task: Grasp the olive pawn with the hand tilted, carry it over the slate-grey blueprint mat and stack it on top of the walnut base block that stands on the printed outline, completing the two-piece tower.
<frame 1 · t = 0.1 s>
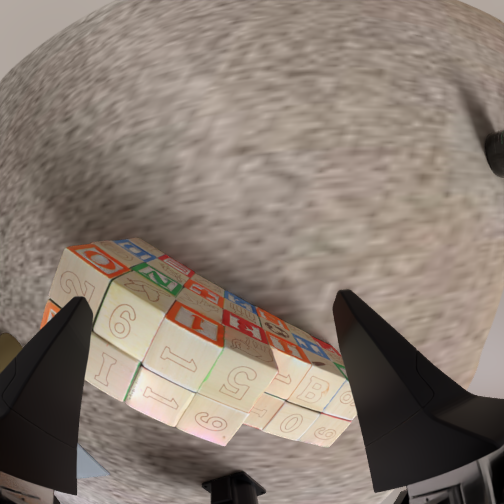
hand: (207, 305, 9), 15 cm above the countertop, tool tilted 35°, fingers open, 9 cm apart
blueprint mat: (39, 437, 23), on the countertop
stack of blocks: (223, 324, 25), on the countertop
olive pawn: (13, 354, 23), on the countertop
supplement bottle: (494, 156, 26), on the countertop
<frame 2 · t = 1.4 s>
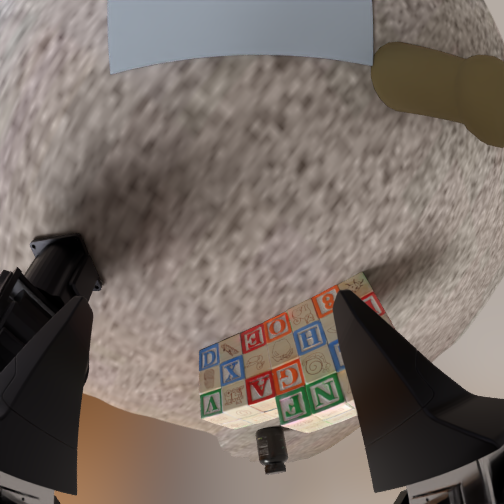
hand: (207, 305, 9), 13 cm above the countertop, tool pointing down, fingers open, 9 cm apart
stack of blocks: (286, 327, 31), on the countertop
olive pawn: (401, 76, 16), on the countertop
supplement bottle: (269, 429, 58), on the countertop
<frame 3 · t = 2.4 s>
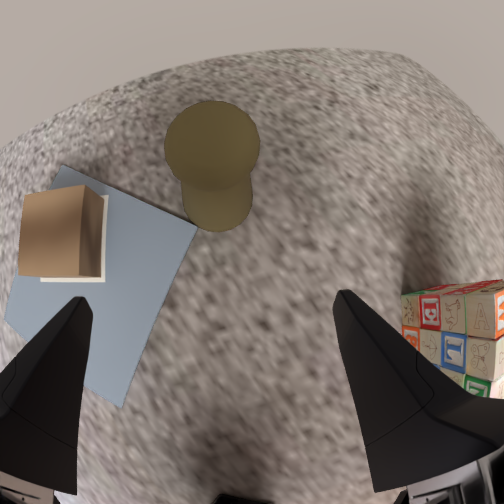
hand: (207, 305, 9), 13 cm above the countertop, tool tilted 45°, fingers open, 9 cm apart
blueprint mat: (79, 281, 21), on the countertop
stack of blocks: (421, 383, 23), on the countertop
olive pawn: (217, 198, 23), on the countertop
walnut block: (70, 239, 21), resting on blueprint mat
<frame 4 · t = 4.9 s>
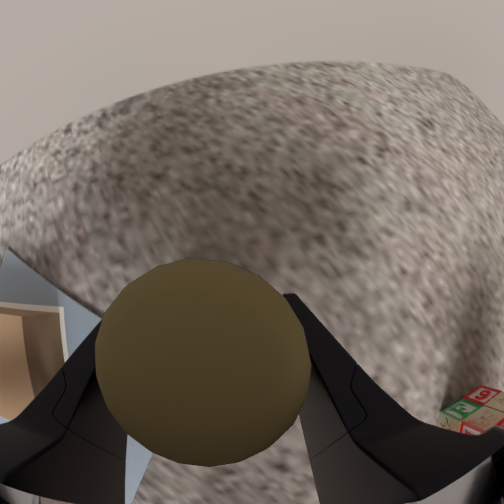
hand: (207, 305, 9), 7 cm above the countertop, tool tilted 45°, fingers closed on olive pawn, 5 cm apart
blueprint mat: (50, 407, 13), on the countertop
stack of blocks: (442, 477, 15), on the countertop
olive pawn: (217, 321, 16), on the countertop, touching gripper
walnut block: (29, 358, 13), resting on blueprint mat
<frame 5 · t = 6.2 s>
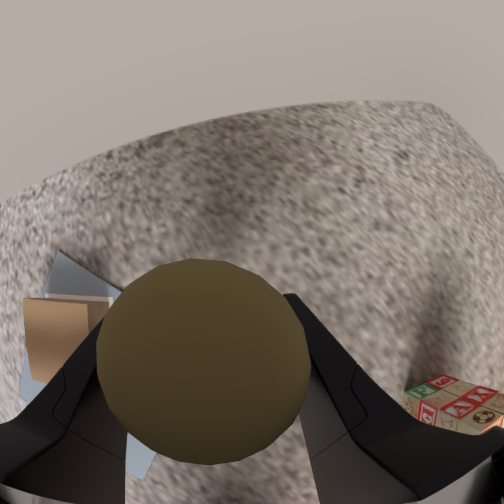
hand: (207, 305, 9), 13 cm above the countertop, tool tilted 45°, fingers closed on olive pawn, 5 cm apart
blueprint mat: (92, 378, 20), on the countertop
stack of blocks: (412, 454, 22), on the countertop
olive pawn: (218, 318, 16), point 6 cm above the countertop, touching gripper
walnut block: (78, 338, 20), resting on blueprint mat
when the fingers open (12 cm above the countertop, at t = 7.9 s): olive pawn stays where it is, resting on walnut block.
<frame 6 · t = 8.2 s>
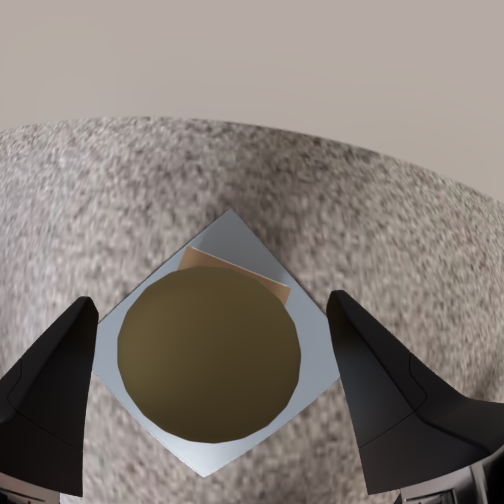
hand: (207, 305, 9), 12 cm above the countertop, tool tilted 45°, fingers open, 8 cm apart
blueprint mat: (213, 361, 20), on the countertop
olive pawn: (219, 319, 17), point 4 cm above the countertop, touching walnut block
walnut block: (220, 314, 20), resting on blueprint mat, touching olive pawn
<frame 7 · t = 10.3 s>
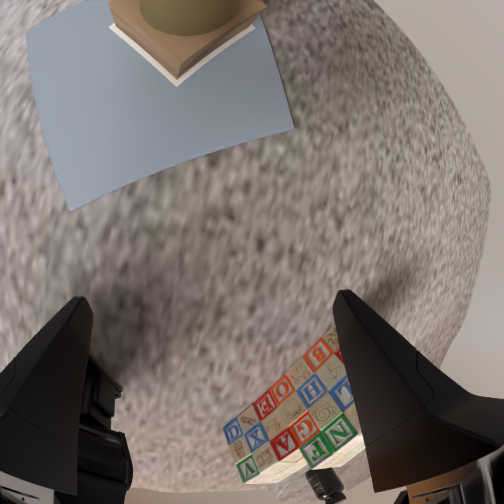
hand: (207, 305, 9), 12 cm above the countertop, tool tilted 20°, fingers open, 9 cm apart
blueprint mat: (149, 61, 15), on the countertop
stack of blocks: (291, 385, 32), on the countertop
supplement bottle: (316, 468, 51), on the countertop
walnut block: (182, 22, 14), resting on blueprint mat, touching olive pawn
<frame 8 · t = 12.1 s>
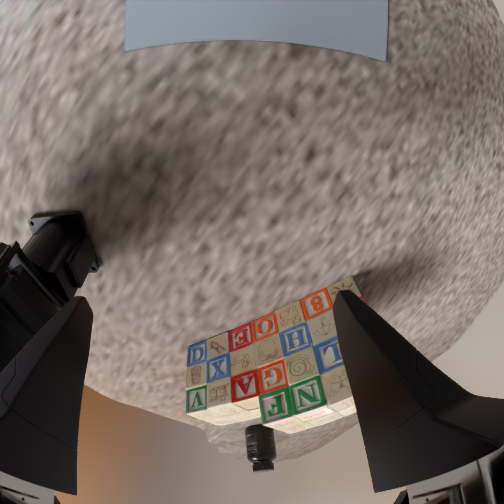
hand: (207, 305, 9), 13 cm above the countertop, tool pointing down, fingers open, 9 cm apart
stack of blocks: (274, 327, 32), on the countertop
supplement bottle: (258, 427, 58), on the countertop
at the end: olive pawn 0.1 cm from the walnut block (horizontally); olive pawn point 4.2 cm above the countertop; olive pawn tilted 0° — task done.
